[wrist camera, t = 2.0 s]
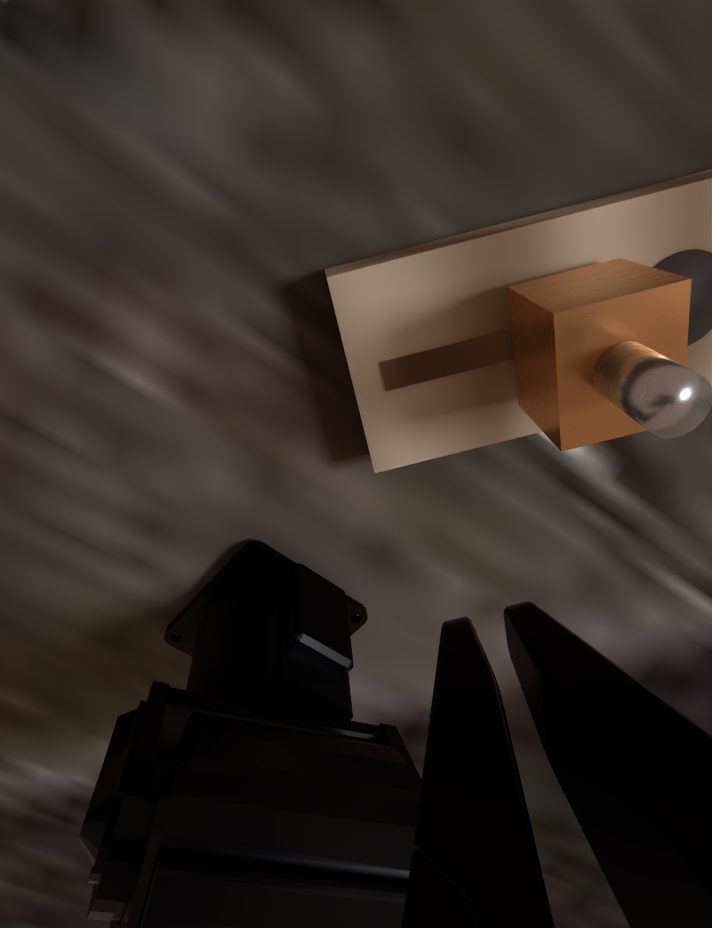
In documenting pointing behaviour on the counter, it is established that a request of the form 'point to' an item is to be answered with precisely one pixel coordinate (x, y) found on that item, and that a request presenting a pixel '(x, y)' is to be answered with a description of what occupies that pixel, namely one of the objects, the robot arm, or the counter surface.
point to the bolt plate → (497, 313)
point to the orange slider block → (606, 354)
